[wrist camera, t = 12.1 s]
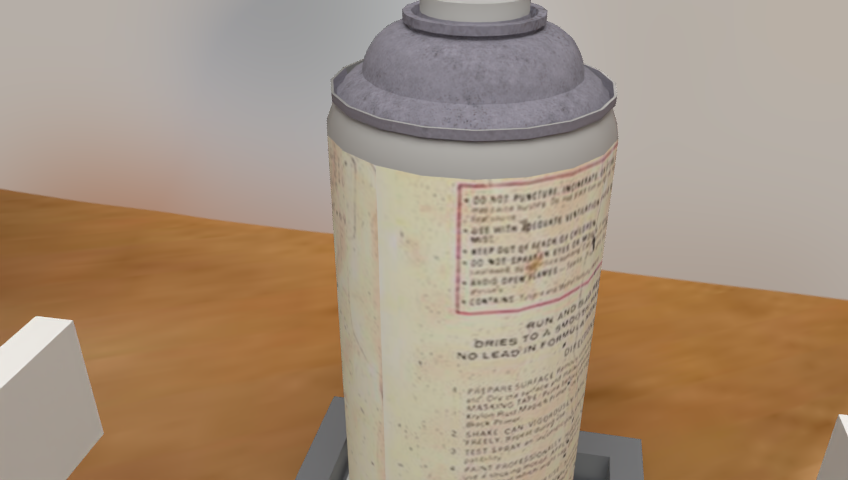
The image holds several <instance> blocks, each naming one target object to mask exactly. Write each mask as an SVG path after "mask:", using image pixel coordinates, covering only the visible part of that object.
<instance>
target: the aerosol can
mask: <svg viewBox="0 0 848 480" xmlns="http://www.w3.org/2000/svg"><path fill="white" fill-rule="evenodd" d="M402 12H403V13H402V16H403V19H401V20H398V21H396V22H393V23H391V24H390V25H388V26H386V28H384V29H383V30H382V31H381V32H380V33H379V34H378V35H377V36H376V37H375V38H374V40H373V41H372V43H371V44H370V46H369V48H368V50H367V52H366V55H365V57H364V59H362V60H359V61H357V62H355V63H353V64H350V65H348V66H345V67H343V68H342V69H341V70H340V71H339V72H338V73H337V74H336V75H335V76H334V77H333V78H332V79H331V94H332V102H333V103H332V106H331V109H330V112H329V115H328V118H327V136H328V151H329V166H330V182H331V198H332V214H333V230H334V245H335V261H336V277H337V292H338V308H339V324H340V339H341V355H342V371H343V386H344V402H345V418H346V434H347V449H348V465H349V480H573V476H574V469H575V461H576V454H577V446H578V438H579V431H580V423H581V416H582V408H583V401H584V393H585V386H586V378H587V371H588V363H589V356H590V348H591V341H592V333H593V325H594V318H595V310H596V303H597V295H598V288H599V280H600V273H601V265H602V258H603V249H604V243H605V235H606V227H607V220H608V212H609V205H610V197H611V190H612V182H613V174H614V167H615V160H616V152H617V145H618V131H617V122H616V118H615V115H614V111H613V107H614V106H615V104H616V99H617V92H616V83H615V82H614V81H613V80H612V79H611V78H609V77H608V76H607V75H606V74H605V73H603V72H602V71H601V70H599V69H597V68H594V67H592V66H590V65H587V64H585V63H583V60H582V56H581V53H580V51H579V49H578V47H577V45H576V43H575V41H574V40H573V38H572V37H571V36H570V35H568V34H567V33H566V32H565V31H564V30H562V29H561V28H560V27H558V26H557V25H555V24H553V23H551V22H548V21H546V20H547V10H546V9H545V8H543V7H542V6H540V5H537V4H534V3H531V0H420V1H417V2H414V3H411V4H408V5H407V6H405V7H404V8H403V9H402Z"/></svg>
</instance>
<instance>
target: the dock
mask: <svg viewBox="0 0 848 480" xmlns="http://www.w3.org/2000/svg"><path fill="white" fill-rule="evenodd" d="M295 480H349V465H348V449H347V434H346V418H345V402H344V398H342V397H335V396H334V398H333V400H332V402H331V404H330V406H329V409H328V411H327V413H326V415H325V417H324V419H323V421H322V423H321V426H320V428H319V430H318V432H317V434H316V436H315V438H314V440H313V443H312V445H311V447H310V449H309V451H308V453H307V455H306V457H305V460H304V462H303V464H302V466H301V468H300V470H299V472H298V474H297V477H296V479H295ZM573 480H644V476H643V461H642V445H641V439H635V438H628V437H620V436H613V435H606V434H599V433H592V432H585V431H579V438H578V446H577V454H576V461H575V469H574V476H573Z"/></svg>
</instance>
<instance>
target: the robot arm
mask: <svg viewBox="0 0 848 480" xmlns="http://www.w3.org/2000/svg"><path fill="white" fill-rule="evenodd" d="M103 434H104V433H103V429H102V425H101V422H100V418H99V414H98V411H97V407H96V403H95V400H94V396H93V392H92V388H91V385H90V381H89V377H88V374H87V370H86V366H85V363H84V359H83V355H82V352H81V348H80V344H79V340H78V337H77V333H76V329H75V326H74V322H73V321H72V320H64V319H56V318H48V317H40V316H36V317H34V318H33V319H32V320H31V321H30V322H29V323H27V324H26V325H25V326H24V327H23V328H22V329H21V330H19V331H18V332H17V333H16V334H15V335H14V336H12V337H11V338H10V339H9V340H8V341H7V342H6V343H4V344H3V345H2V346H1V347H0V480H66V479H67V478H68V477H69V476H70V474H71V473H72V472H73V471H74V469H75V468H76V467H77V466H78V465H79V463H80V462H81V461H82V460H83V458H84V457H85V456H86V455H87V453H88V452H89V451H90V450H91V449H92V447H93V446H94V445H95V444H96V442H97V441H98V440H99V439H100V438H101V436H102V435H103ZM816 480H848V415H840V414H839V415H838V418H837V421H836V424H835V427H834V430H833V433H832V435H831V438H830V441H829V444H828V447H827V450H826V453H825V456H824V459H823V462H822V465H821V468H820V471H819V474H818V477H817V479H816Z"/></svg>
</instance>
